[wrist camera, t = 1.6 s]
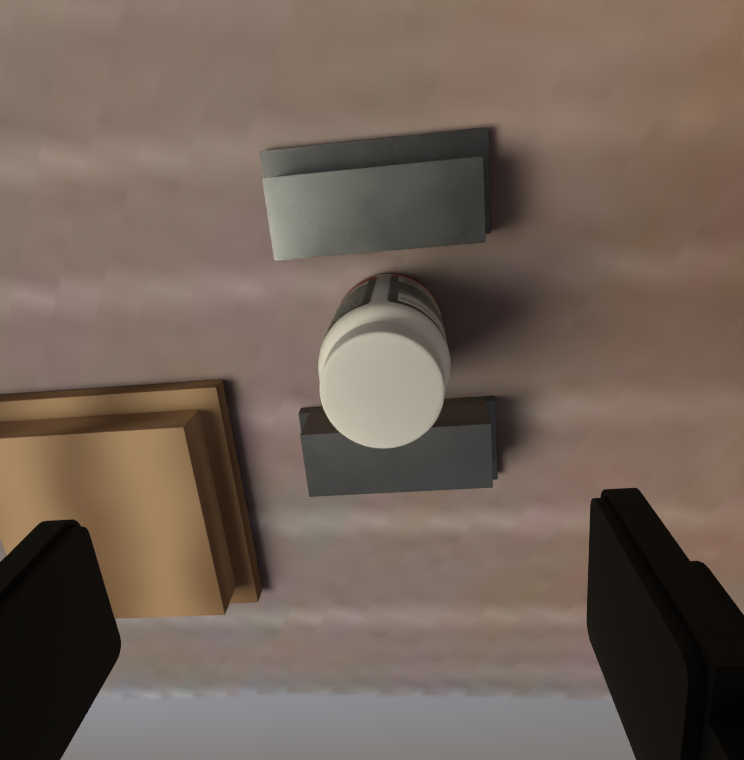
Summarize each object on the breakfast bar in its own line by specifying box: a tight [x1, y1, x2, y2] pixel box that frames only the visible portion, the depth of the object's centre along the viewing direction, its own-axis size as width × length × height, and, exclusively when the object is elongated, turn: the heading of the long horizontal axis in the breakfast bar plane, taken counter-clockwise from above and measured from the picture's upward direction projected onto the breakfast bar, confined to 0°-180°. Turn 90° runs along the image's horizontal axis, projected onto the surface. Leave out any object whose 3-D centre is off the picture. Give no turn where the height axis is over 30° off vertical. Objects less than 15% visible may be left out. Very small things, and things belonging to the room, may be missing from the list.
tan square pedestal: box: [0, 380, 262, 618], centre depth 29 cm, size 12×12×3 cm
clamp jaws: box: [260, 127, 498, 497], centre depth 25 cm, size 9×15×3 cm, turn 5°
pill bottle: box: [318, 274, 451, 448], centre depth 23 cm, size 5×5×8 cm
